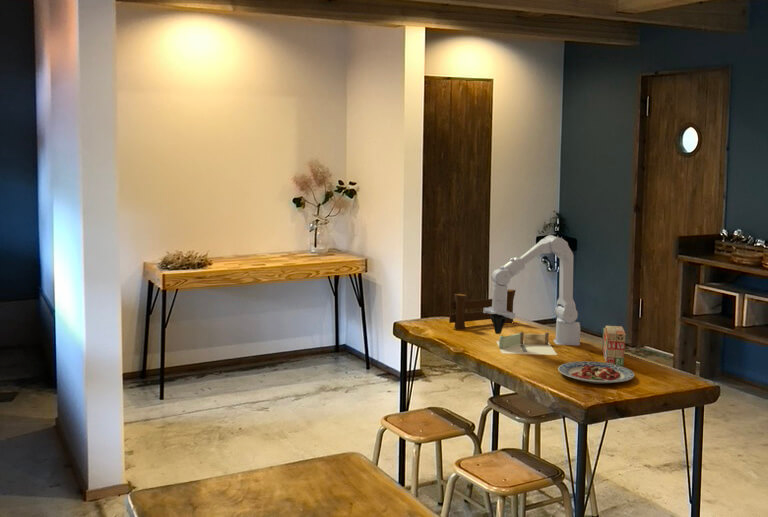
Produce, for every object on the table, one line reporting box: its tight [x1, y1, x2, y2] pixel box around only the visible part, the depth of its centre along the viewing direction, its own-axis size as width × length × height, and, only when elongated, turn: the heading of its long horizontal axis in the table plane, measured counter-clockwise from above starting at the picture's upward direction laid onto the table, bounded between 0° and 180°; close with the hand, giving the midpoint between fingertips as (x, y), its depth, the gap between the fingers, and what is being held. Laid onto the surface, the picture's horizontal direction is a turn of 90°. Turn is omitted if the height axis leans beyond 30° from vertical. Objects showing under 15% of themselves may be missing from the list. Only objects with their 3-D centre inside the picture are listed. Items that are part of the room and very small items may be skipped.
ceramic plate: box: [557, 360, 635, 385], centre depth 299 cm, size 26×26×3 cm
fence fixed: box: [518, 331, 550, 345], centre depth 342 cm, size 12×2×5 cm, turn 89°
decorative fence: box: [448, 288, 517, 330], centre depth 376 cm, size 34×6×15 cm, turn 120°
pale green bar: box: [498, 332, 521, 349], centre depth 337 cm, size 12×2×5 cm, turn 134°
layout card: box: [495, 340, 558, 356], centre depth 336 cm, size 21×20×1 cm
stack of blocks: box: [602, 325, 627, 367], centre depth 324 cm, size 21×6×12 cm, turn 170°
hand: (498, 333), depth 340 cm, fingers closed
